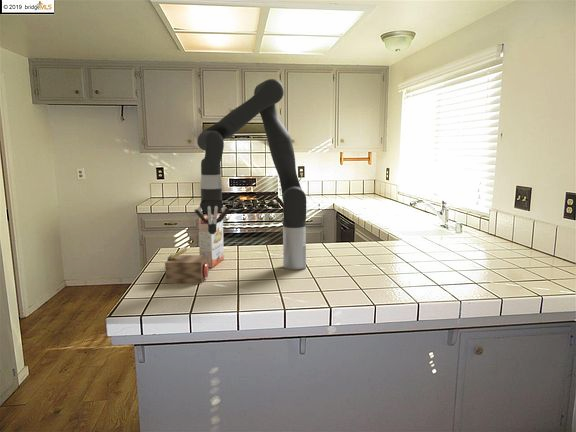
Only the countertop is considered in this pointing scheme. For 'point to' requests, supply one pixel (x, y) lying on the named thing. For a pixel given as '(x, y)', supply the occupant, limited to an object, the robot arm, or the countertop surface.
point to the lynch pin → (205, 270)
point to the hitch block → (185, 269)
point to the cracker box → (211, 243)
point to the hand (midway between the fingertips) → (212, 233)
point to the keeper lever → (177, 254)
